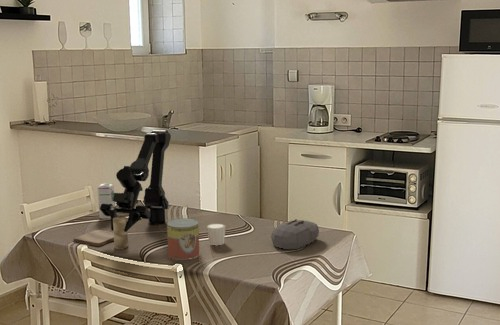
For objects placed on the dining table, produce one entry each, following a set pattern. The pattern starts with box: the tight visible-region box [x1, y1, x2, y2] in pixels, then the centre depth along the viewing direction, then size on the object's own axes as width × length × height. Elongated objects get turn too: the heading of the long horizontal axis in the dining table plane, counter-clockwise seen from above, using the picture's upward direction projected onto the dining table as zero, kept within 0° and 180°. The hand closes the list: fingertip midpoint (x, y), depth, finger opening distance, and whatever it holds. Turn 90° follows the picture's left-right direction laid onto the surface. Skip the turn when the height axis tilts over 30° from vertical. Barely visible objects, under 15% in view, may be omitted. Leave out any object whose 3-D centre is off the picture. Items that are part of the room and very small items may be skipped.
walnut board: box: [73, 229, 114, 247], centre depth 242 cm, size 13×13×1 cm
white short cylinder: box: [206, 223, 226, 246], centre depth 235 cm, size 7×7×7 cm
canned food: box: [166, 217, 200, 261], centre depth 222 cm, size 11×11×12 cm
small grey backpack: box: [270, 218, 320, 250], centre depth 235 cm, size 15×8×20 cm
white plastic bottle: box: [97, 182, 116, 220], centre depth 272 cm, size 6×6×14 cm
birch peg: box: [113, 216, 129, 250], centre depth 232 cm, size 5×5×11 cm
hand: (118, 230), depth 230 cm, fingers closed on birch peg, 5 cm apart
